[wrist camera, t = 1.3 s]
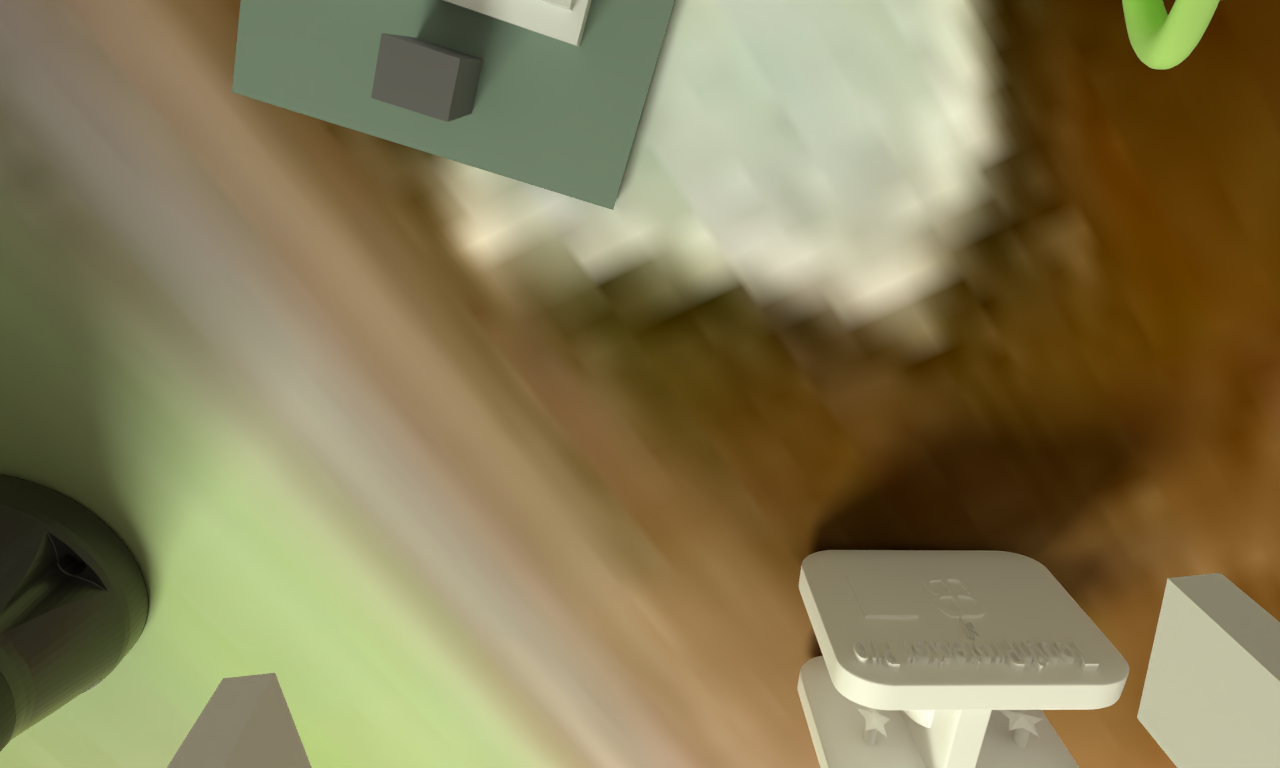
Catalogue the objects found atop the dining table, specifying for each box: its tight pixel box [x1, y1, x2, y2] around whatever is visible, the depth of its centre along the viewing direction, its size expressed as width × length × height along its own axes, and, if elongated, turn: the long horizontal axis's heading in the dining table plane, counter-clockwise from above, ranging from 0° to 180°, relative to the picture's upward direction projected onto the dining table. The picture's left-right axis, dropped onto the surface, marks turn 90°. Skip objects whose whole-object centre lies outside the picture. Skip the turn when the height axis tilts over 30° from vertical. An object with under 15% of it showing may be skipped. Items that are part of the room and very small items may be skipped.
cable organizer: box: [798, 550, 1129, 768], centre depth 43 cm, size 15×11×12 cm
